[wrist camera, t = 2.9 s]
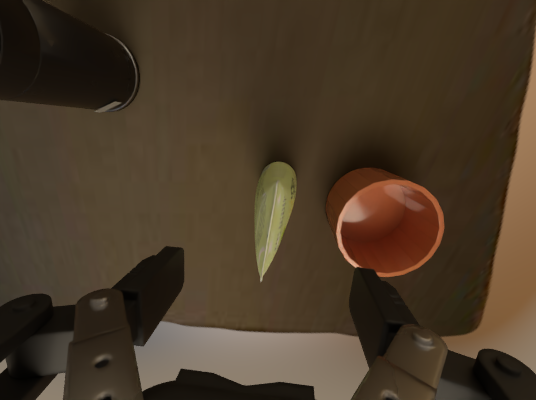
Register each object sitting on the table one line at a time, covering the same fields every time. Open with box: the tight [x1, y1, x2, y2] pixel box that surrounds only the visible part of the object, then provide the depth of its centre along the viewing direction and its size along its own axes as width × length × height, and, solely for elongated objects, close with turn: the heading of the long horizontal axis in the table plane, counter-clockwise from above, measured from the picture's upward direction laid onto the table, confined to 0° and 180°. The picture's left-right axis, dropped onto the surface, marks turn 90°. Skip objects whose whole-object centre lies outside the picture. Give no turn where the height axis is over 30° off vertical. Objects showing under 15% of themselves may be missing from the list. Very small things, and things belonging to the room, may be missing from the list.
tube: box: [255, 162, 296, 281], centre depth 27 cm, size 6×5×20 cm
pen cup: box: [326, 168, 444, 277], centre depth 32 cm, size 11×11×9 cm
